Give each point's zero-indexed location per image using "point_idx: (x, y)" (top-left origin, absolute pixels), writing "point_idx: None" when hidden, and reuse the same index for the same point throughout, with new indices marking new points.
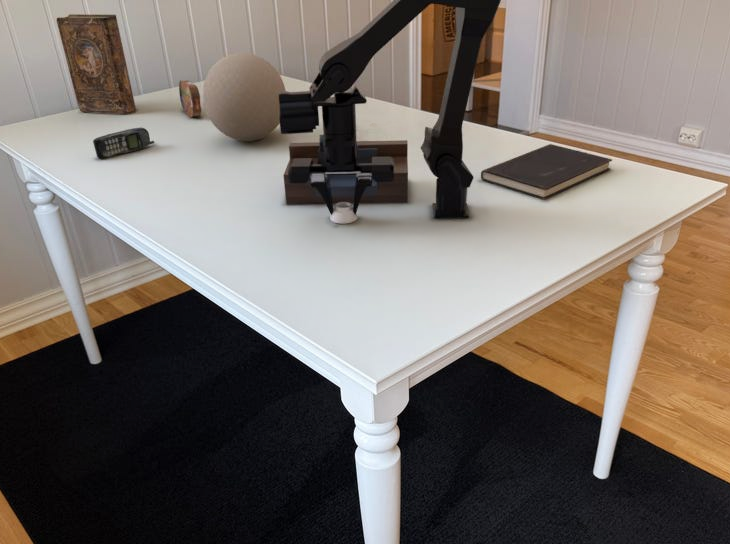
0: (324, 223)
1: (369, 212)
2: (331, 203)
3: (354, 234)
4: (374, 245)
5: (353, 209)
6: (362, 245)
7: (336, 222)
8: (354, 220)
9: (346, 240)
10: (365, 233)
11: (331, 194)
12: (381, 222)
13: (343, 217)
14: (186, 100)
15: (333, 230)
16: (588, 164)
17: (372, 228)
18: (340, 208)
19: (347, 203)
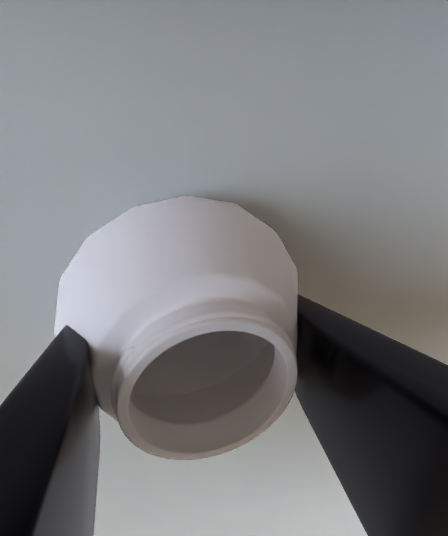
0: (19, 369)
1: (395, 129)
2: (91, 526)
3: (256, 458)
4: (337, 513)
5: (301, 397)
6: (288, 527)
7: (132, 395)
8: (268, 347)
9: (214, 514)
10: (314, 437)
11: (54, 503)
12: (427, 303)
13: (199, 418)
14: None
15: (122, 446)
16: None
17: None
18: (187, 455)
19: (255, 332)
